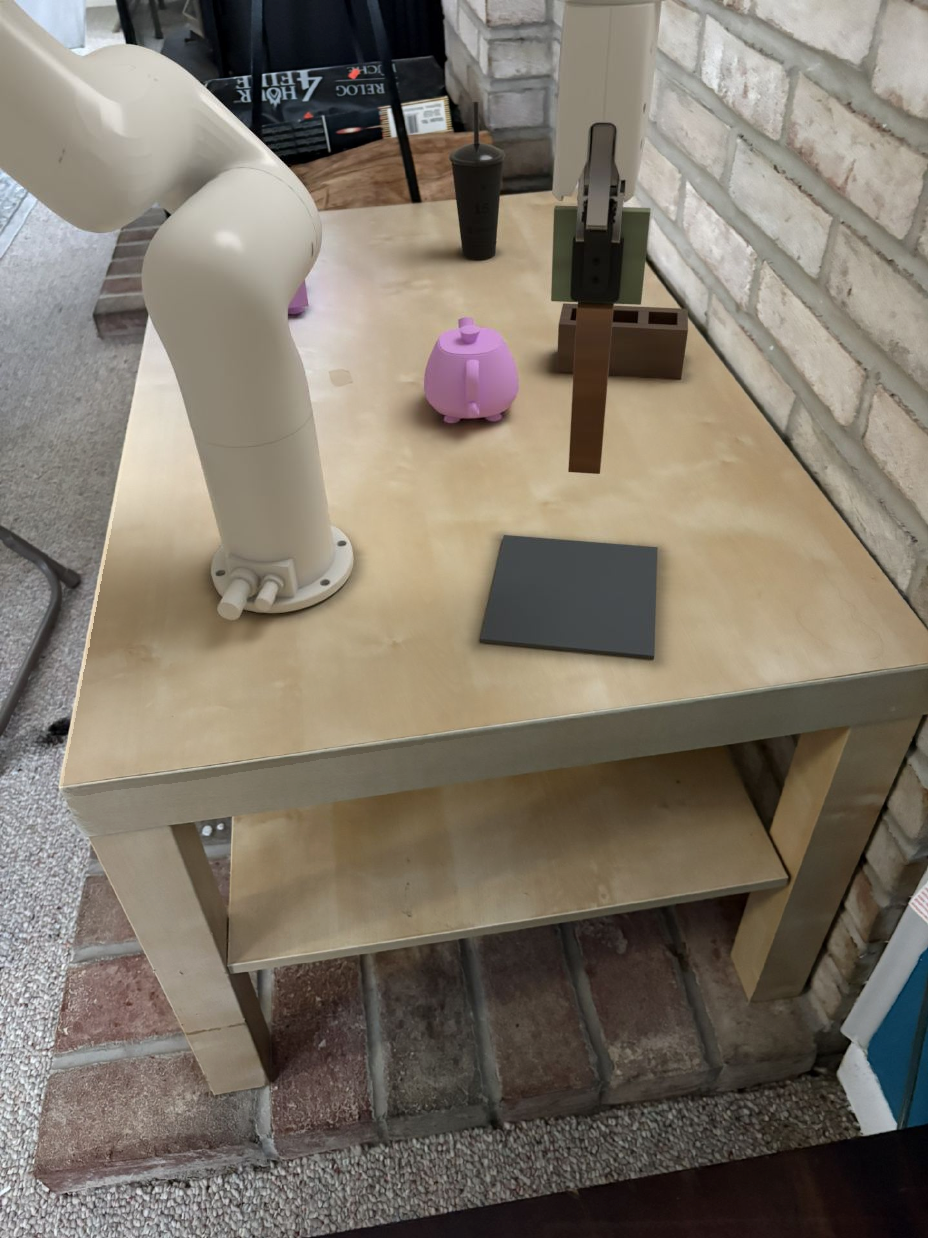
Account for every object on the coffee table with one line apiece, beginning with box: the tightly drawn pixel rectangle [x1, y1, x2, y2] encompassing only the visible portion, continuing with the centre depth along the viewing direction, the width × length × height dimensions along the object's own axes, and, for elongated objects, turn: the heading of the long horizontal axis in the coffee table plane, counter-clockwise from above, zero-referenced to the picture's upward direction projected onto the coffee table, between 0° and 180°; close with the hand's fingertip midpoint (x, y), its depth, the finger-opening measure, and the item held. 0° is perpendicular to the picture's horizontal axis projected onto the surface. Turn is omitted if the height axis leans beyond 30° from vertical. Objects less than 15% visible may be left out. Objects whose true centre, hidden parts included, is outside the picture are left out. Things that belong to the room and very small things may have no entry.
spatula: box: [550, 205, 652, 475], centre depth 64 cm, size 2×6×19 cm, turn 81°
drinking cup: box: [448, 101, 506, 261], centre depth 129 cm, size 8×8×20 cm
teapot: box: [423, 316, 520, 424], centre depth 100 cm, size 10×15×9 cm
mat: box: [479, 534, 658, 660], centre depth 79 cm, size 14×14×1 cm
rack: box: [556, 302, 689, 380], centre depth 107 cm, size 6×14×6 cm, turn 80°
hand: (595, 293), depth 62 cm, fingers closed on spatula, 1 cm apart
